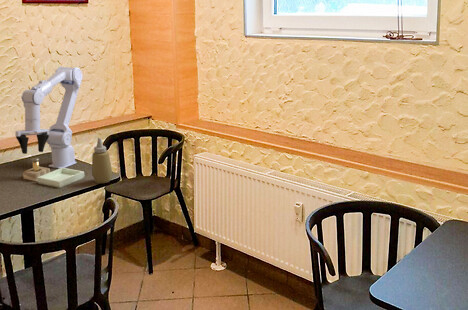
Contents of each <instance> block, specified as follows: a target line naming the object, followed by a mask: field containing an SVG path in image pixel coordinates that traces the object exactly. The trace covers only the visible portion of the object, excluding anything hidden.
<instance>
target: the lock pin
mask: <svg viewBox="0 0 468 310" xmlns="http://www.w3.org/2000/svg"><path fill="white" fill-rule="evenodd" d="M30 161H31V162H32V163H31V164H32V168H33V171H34V172H38V171H40V170H39V167H40V163H39V161H40V157H32V158H30Z"/></svg>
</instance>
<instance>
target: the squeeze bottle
mask: <svg viewBox="0 0 468 310" xmlns="http://www.w3.org/2000/svg"><path fill="white" fill-rule="evenodd" d="M93 151H94V152H92V155H91V156H92V157H91V159H92V160H91V175H92V177H93V180H94V181H95V183H97V184H105V183H106V184H107V183H110V181H111V178H112V175H113V170H112V164H111V158H110V152H108V151H107V147H106V146H105V145H103V141H102V138H101V137H99V138H97V143H96V146H94V148H93Z"/></svg>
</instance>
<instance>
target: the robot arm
mask: <svg viewBox="0 0 468 310" xmlns="http://www.w3.org/2000/svg"><path fill="white" fill-rule="evenodd" d="M83 77H84V76H83V72H82V70H81V68H79V67H71V66H70V67H67V66H59V67H58V68H56V69H55V72H54V73H52V75H51V76H50V77H49V78H47V80H45V79H42V80H41V79H40V80H39V81H38V83H37V84H35V85H33V86H31V88H30V89H25V90H24V91H23V92H22V94H21V97H20V98H21V101H22V103H23V107H24V129H23V130H15V131H14V133H15V139H16V140H17V142H18V144H19V146H20V149H21V153H22V154H24V155H27V154H28V143H29V139H30V138H29V137H27V136H36V139H37V149H38V152H40V153H43V152H44V149H45V146H46V143H47V144H48V146H49V148H50V151H51V159H52V161H51V162H52V163H51V164H49V165H48V168H49V167H50V168H55V169H60V168H68V167H71V166H73V165H76V164H77V161H76V157H75V149H74V147H73V145H72V144H71V143H72V135H73V131H72V129H71V128H70V127H69V126H70V122H71V119H72V115H73V112H74V109H75V105H76V102H77V98H78V94H79V91H80V88H81V86H82V85H81V84H82V82H83ZM58 84H60V86H61V87H63V89H64V90H65V91H64V95H63V98H62V102H61V105H60V108H59V111H58V116H57V118H56V121H55V123H54V124H52V125H51V126H50V127H49V129H48V128H44V129H43V128H41V104H42V103H43V102H44V99H45V98H46V96H47V95H49V94H50V93H51V92H52V91H53V87H55V86H57V85H58Z"/></svg>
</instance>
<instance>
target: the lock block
mask: <svg viewBox="0 0 468 310" xmlns="http://www.w3.org/2000/svg"><path fill="white" fill-rule="evenodd" d="M39 170H40V171H38V172H34V171H33V167H32V168H29V169H26V170H24V171H22V176H23V180H30V181H34V182H38V181H37V177H39V176H42V175H44V174H47V173H50V172H51V169H50V168H49V167H43V166H39Z"/></svg>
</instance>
